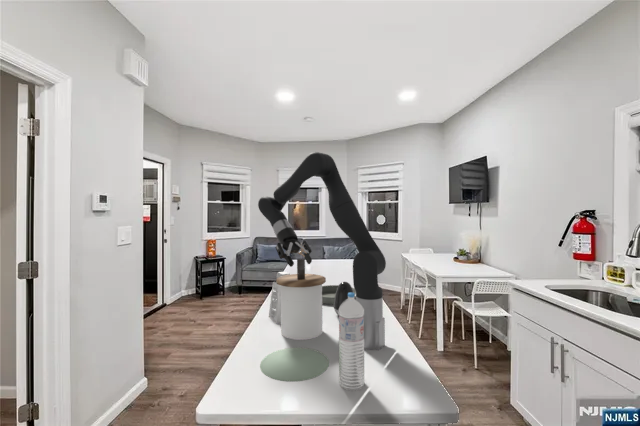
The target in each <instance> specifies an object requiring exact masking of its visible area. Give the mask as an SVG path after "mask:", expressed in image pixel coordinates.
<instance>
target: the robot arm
mask: <svg viewBox="0 0 640 426" xmlns="http://www.w3.org/2000/svg"><path fill="white" fill-rule="evenodd" d="M337 167H338V166H337V164H336V161H335V160H334V159H333V157H332V156H331V155H330V154H327V153H323V152H318V151H315V152H314V151H313V152H310V153H309V154H308V155H307V156H306V157H305V158H304V159H303V160H302V162H300V164H299V166H297V168H296V169H295V170H294V172H293V173H292V174H291V176H289V178H287V180H285V181H284V182H283V183H282V184H281V185H279V187H277V188H276V189H275V190H274V192H273V197H271V196H261V197H260V198H259V199H258V204H257V207H258V210H259V211H260V213H261V214H262V216H263V217H265V219H266V220H267V221H268V222H269V223H270V225H271V227H272V229H273V232H274V235H275V236H276V239H277V240H278V242H277V244H276V245H275V247H274V249H275V250H276V253H277V255H278V257H279V259H283V260H285V262H286V263H287V265H288V266H289V267H293V266H294V264H295V263H294V261H293V258H292V256H291V254H298V255H301V256H302V257H303V259H305V262H306V263H307V265H311V263H312V262H313V261H312V260H313V259H312V257H311V256H310V254H311V253H312V249H311V247H310V246H309V244H308V243H307V241H306V240H303V241H302V242H300V241H299V239H298V236H297V233H296V232H295V230H294V228H293V226H292V224H291V223H290V222H289V220H288V219H287V217H286V215H285V213H284V212H283V211H282V210H283V209H284V207H285V206H286V204H287V203H288V202H289V201H290V200H291V199H293V198H294V197H295V196H296V195H297V194H298V193H299V191H300V189H301V187H302V185H303V184H304V183H305V182H306V181H307V180H309V179H310V178H313V177H318V178H321V179H322V181H323V182H324V185H325V187H326V189H327V193H328V207H329V211H330V213H331V215H332V217H333V219H334V221H335V223H336V225H337V226H338V227H339V229H340V230H341V231H342V232H343V233H344V234H345V235H346V236H347V237H348V238H349V239H350V240H351V241H352V243H353V244H354V246H355V247H356V249H357V252H358V253H357V254H355V256H354V257H353V262H352V283H353V288H354V289H355V291H356V294H355V299H356V300H357V301H358V302H359V303H360V304H361V305H362V306H363V308H364V350H370V351H375V350H376V351H380V350H381V349H382V348H383V347H384V346H385V345H386V342H385V341H386V337H385V336H386V325H385V323H386V321H385V317H384V316H383V315H384V310H383V308H384V306H383V303H384V302H383V301H384V299H383V298H384V297H383V296H384V294H383V293H384V292H383V289H382V287H380V286H379V283H378V282H379V281H378V279H379V278H378V275H380V274H382V273H383V272H384V271H385V269H386V265H387V263H386V262H387V261H386V258H385V255H384V254H383V252H382V251H381V249H380V247H379V246H378V245H377V243H376V241H375V239H374V238H373V237H372V235H371V233H370V232H369V230H368V227H367V226H366V224H365V222H364V220H363V218H362V216H361V214H360V212H359V210H358V208H357V206H356V203H355V202H354V200H353V199H352V196H351V195H350V193H349V192H348V189H347V188H346V186H345V184H344V181H343V180H342V177H341V175H340V172H339V169H338V168H337Z"/></svg>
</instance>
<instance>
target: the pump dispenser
mask: <svg viewBox="0 0 640 426" xmlns="http://www.w3.org/2000/svg"><path fill="white" fill-rule="evenodd" d="M338 285H339V286H338V288H337V291H336V294H335V299H334V304H333V309H334V312H335V314H336V315H337V316H338V317H339V307H340V305H341V304H342V303H343V302H344V301H345V300H346V299H348V293H350V292H352V293H354V292H353V289H352V288H353V286H352V285H351V284H350V283H349V282H347V281H341V282H340V283H339V284H338ZM354 299H356V296H355V297H354Z"/></svg>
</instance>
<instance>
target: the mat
mask: <svg viewBox="0 0 640 426" xmlns="http://www.w3.org/2000/svg"><path fill="white" fill-rule="evenodd" d="M329 365H330V361H329V358H328V357H327V356H326V355H325V354H324V353H322V352H321V351H319V350H315V349H312V348H307V347H306V348H305V347H288V348H283V349H279V350H276V351H273V352H271V353H269V354H267V355H266V356H265V357H263V359H262V360H261V361H260V364H259V368H260V371H261V373H262V374H263V375H265V377H269V378H270V379H272V380H276V381H280V382H289V383H290V382H303V381H307V380H311V379H314V378H316V377H319V376H320V375H322V374H323V373H325V371H327V369H328V367H329Z"/></svg>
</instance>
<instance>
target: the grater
mask: <svg viewBox="0 0 640 426" xmlns="http://www.w3.org/2000/svg"><path fill="white" fill-rule="evenodd" d="M285 275H291V273H290V272H288V271H278V272H277V273H276V279H277V278H278V277H281V276H285ZM271 286H272V289H271V294H270V304H269V310H268V311H269V312H268V318H270V319H271V320H272V321H273V323H275V324H277V325H279V324H280V325H281V285H279V284H277V283H276V281H273V282H272V285H271Z"/></svg>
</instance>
